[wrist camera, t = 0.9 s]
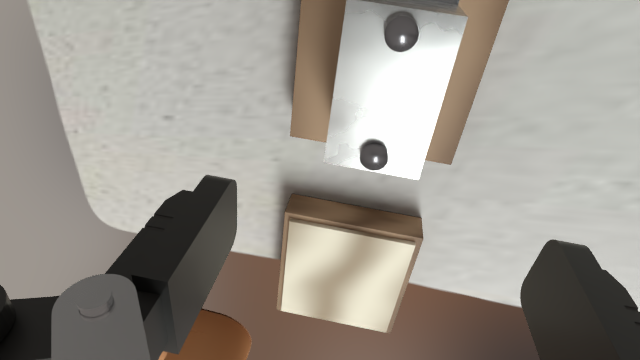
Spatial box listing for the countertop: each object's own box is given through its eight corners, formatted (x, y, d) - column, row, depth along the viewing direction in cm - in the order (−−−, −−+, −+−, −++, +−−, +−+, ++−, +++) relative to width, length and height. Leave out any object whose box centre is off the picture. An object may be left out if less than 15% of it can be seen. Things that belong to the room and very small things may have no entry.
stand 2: (421, 217, 33) (423, 242, 30) (390, 310, 39) (390, 336, 37) (291, 193, 33) (283, 215, 31) (282, 288, 40) (275, 312, 38)
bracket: (254, 321, 44) (233, 381, 38) (248, 363, 49) (228, 421, 43) (101, 282, 45) (57, 334, 39) (109, 326, 49) (71, 379, 43)
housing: (453, -15, 21) (474, 5, 15) (411, 137, 26) (416, 191, 20) (359, -29, 21) (347, -14, 16) (336, 123, 26) (321, 174, 21)
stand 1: (508, -43, 22) (522, -39, 20) (446, 144, 29) (450, 164, 26) (316, -70, 23) (306, -70, 20) (298, 118, 29) (290, 136, 27)
